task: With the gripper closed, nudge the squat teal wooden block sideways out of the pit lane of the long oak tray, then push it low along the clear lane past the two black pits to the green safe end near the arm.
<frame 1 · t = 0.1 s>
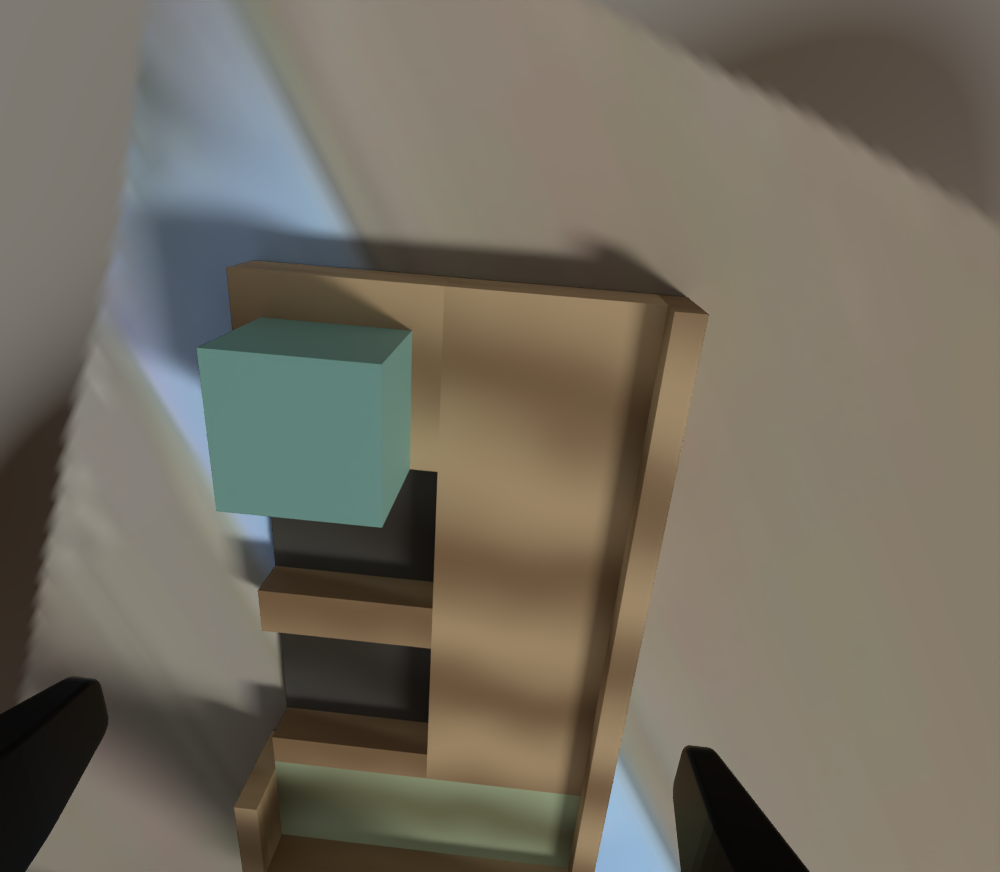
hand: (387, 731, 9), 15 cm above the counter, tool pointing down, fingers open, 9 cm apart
tray: (439, 607, 26), on the counter
block: (338, 396, 21), point 2 cm above the counter, touching tray
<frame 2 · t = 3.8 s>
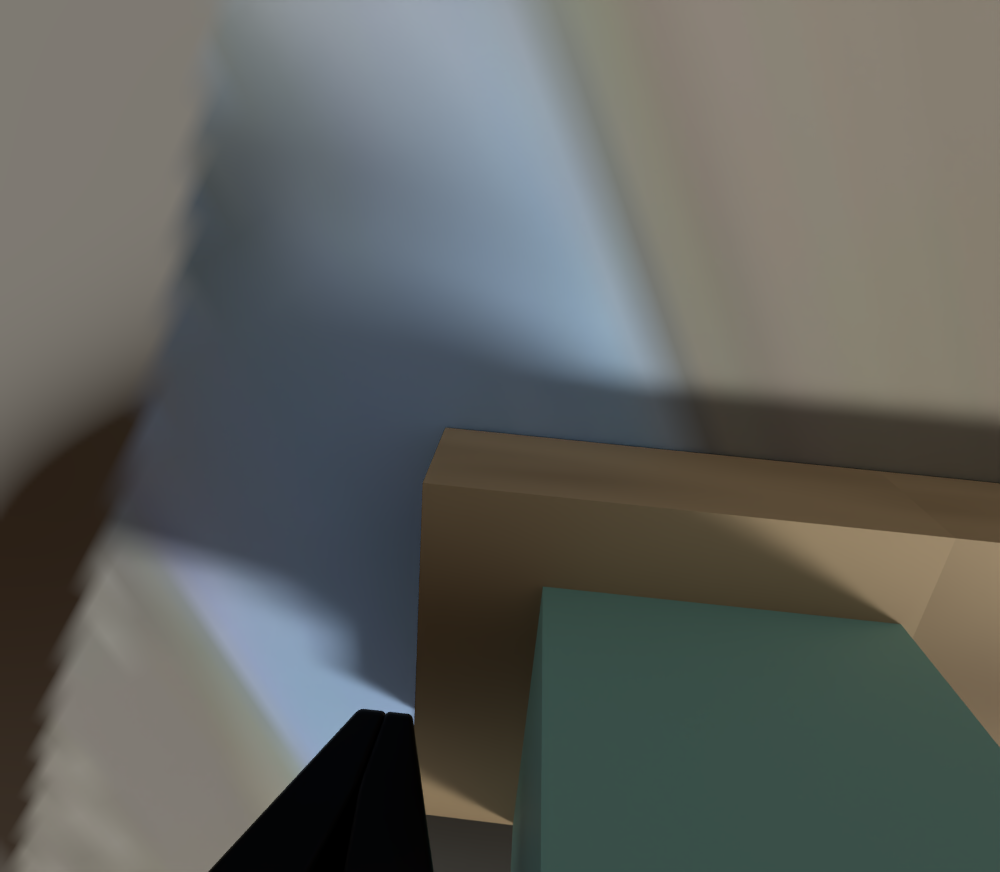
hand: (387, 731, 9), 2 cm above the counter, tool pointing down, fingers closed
block: (685, 734, 10), point 2 cm above the counter, touching gripper
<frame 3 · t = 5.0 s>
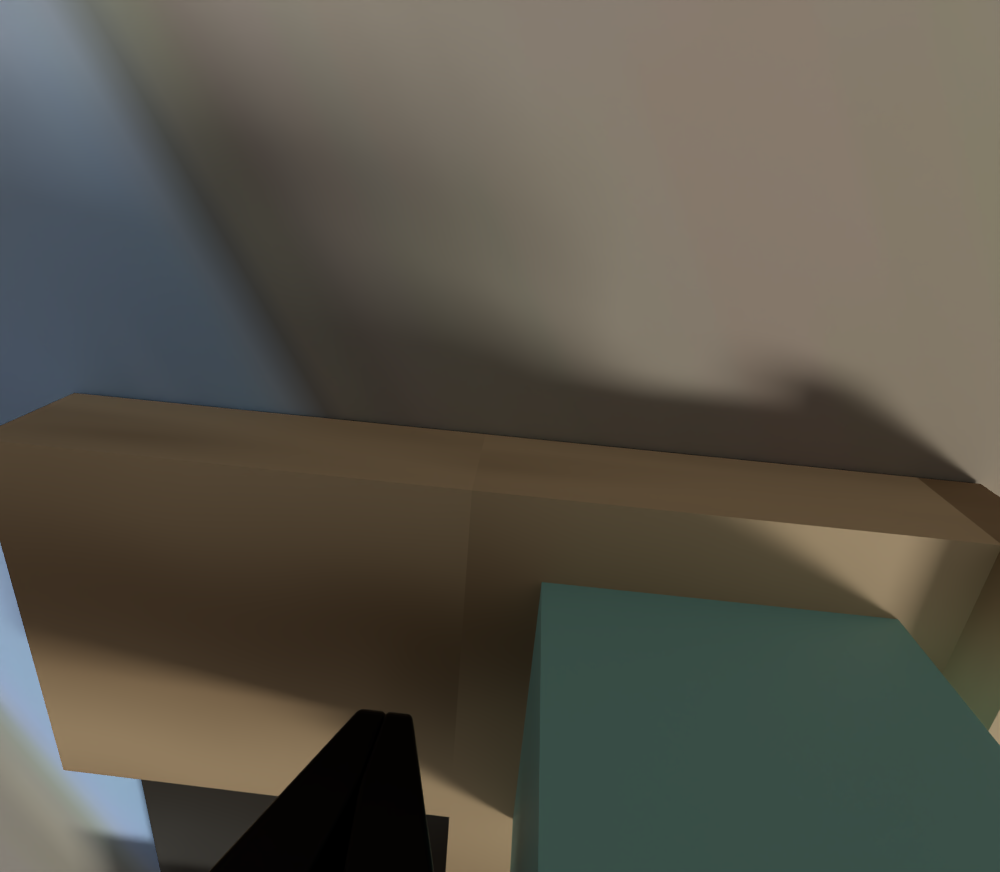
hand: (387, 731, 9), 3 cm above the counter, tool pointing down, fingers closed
block: (684, 730, 10), point 2 cm above the counter, touching gripper, tray
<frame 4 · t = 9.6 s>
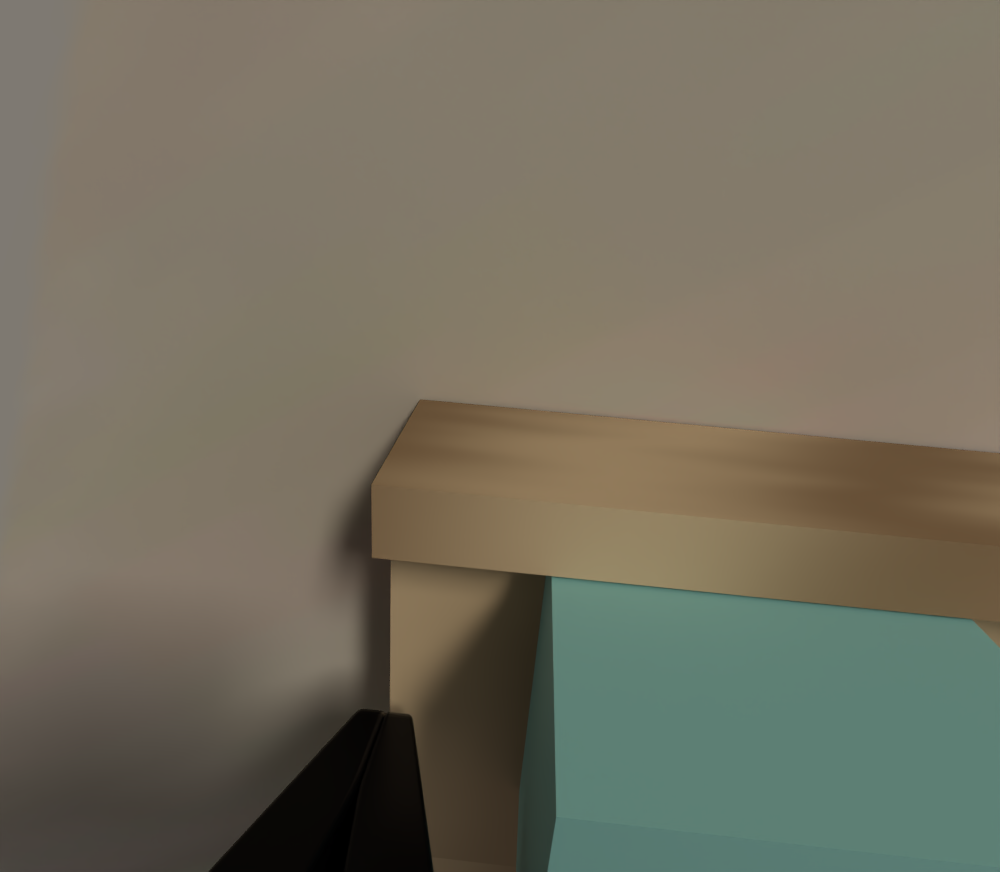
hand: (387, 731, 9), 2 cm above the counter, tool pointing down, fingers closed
block: (699, 693, 9), point 2 cm above the counter, touching gripper, tray
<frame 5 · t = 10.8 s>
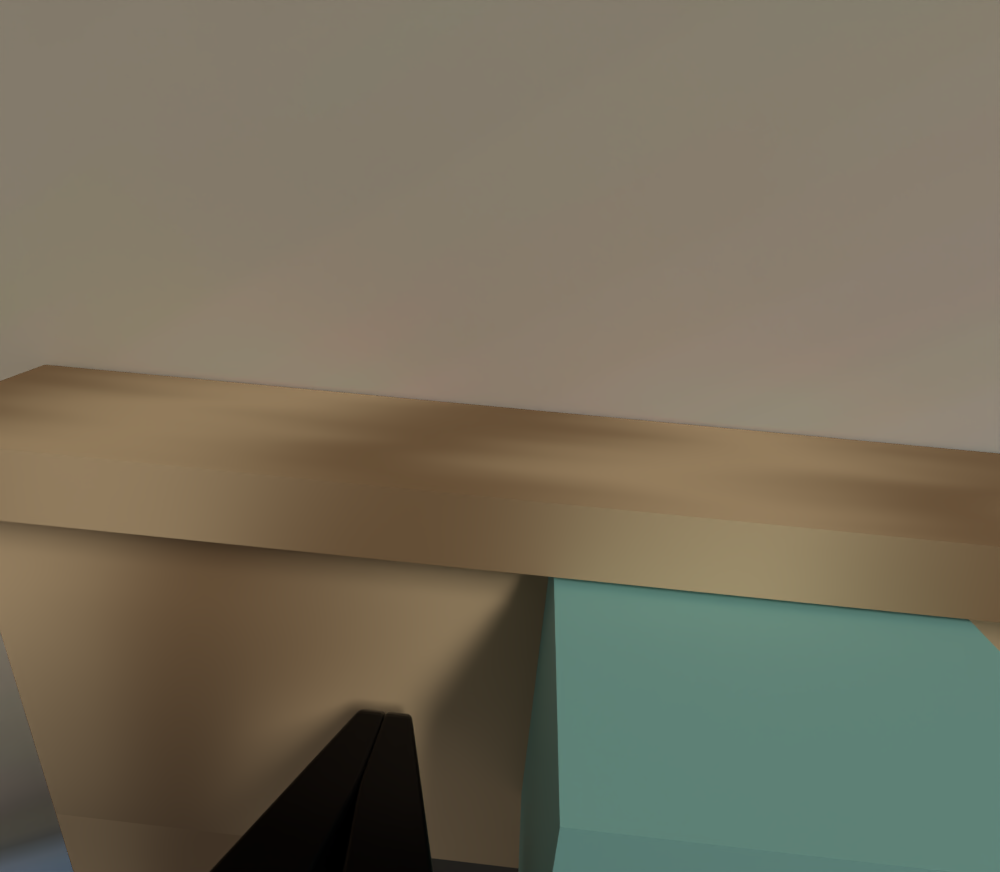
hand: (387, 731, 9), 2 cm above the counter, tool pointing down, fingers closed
tray: (784, 799, 13), on the counter
block: (701, 698, 9), point 2 cm above the counter, touching tray
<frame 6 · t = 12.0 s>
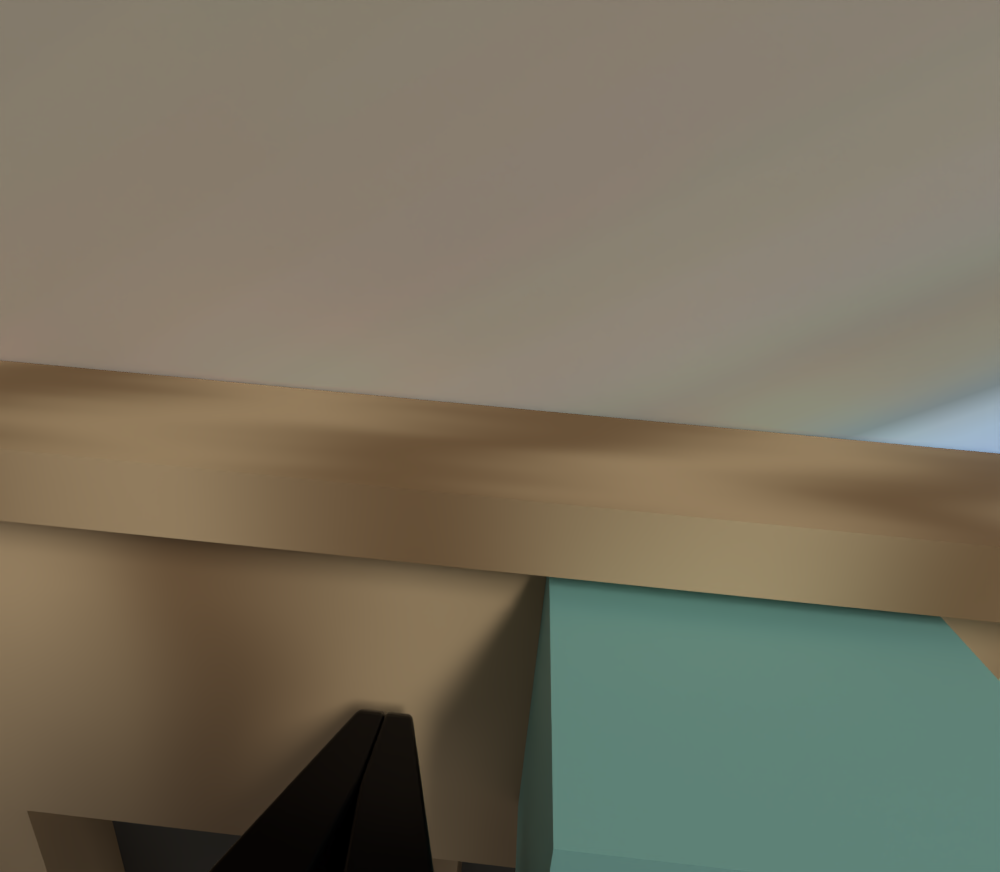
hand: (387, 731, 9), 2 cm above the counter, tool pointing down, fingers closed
tray: (446, 761, 13), on the counter
block: (695, 711, 9), point 2 cm above the counter, touching gripper
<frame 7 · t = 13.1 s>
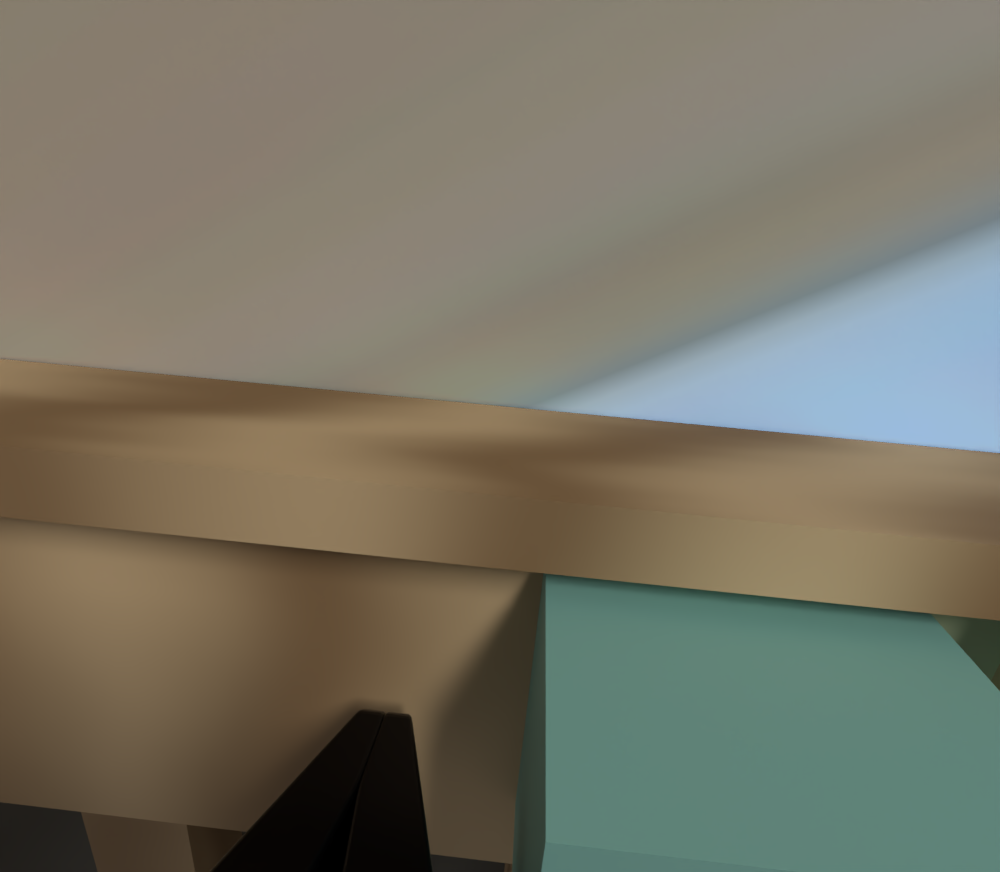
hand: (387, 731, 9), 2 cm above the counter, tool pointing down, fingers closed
tray: (214, 731, 13), on the counter
block: (691, 709, 9), point 2 cm above the counter, touching gripper, tray
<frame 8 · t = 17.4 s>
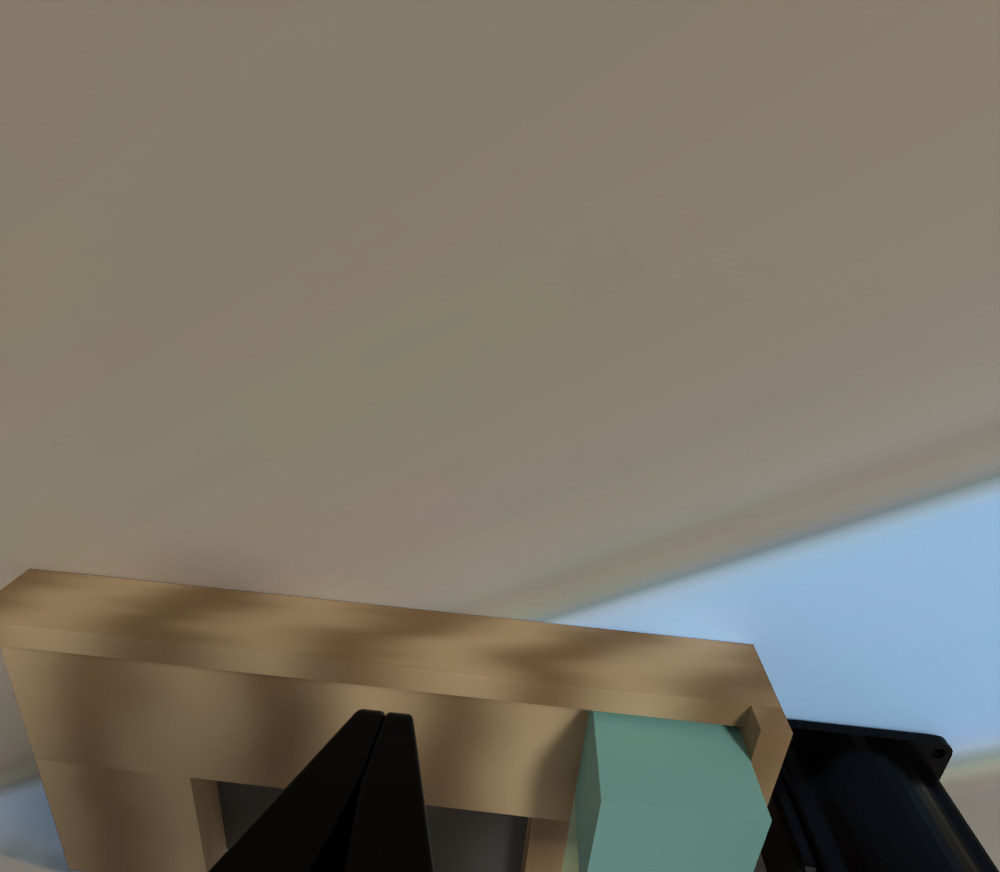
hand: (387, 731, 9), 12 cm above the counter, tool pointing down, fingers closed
tray: (383, 755, 26), on the counter
block: (650, 754, 23), point 2 cm above the counter, touching tray
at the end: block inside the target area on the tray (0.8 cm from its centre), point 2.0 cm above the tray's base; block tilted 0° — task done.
